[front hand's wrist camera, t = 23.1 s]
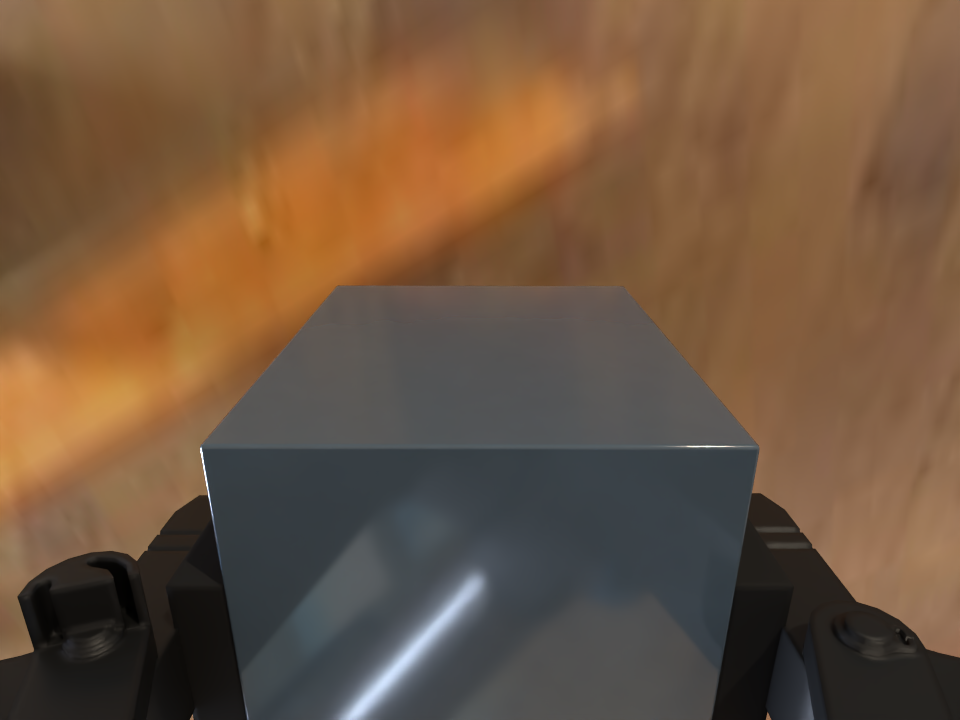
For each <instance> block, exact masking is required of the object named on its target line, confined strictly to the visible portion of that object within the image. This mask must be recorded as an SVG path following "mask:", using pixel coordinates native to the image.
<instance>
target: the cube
mask: <svg viewBox="0 0 960 720" xmlns="http://www.w3.org/2000/svg"><path fill="white" fill-rule="evenodd" d="M200 450H201V456H202V462H203V468H204V473H205V479H206V485H207V491H208V497H209V502H210V508H211V514H212V520H213V526H214V531H215V537H216V543H217V549H218V554H219V560H220V566H221V572H222V578H223V583H224V589H225V595H226V601H227V607H228V612H229V618H230V624H231V630H232V636H233V641H234V647H235V653H236V659H237V665H238V670H239V676H240V682H241V688H242V693H243V699H244V705H245V711H246V717H247V720H712V717H713V711H714V705H715V700H716V694H717V688H718V682H719V677H720V671H721V665H722V660H723V654H724V648H725V643H726V637H727V631H728V625H729V620H730V614H731V608H732V603H733V597H734V591H735V586H736V580H737V574H738V569H739V563H740V557H741V551H742V546H743V540H744V534H745V529H746V523H747V517H748V512H749V506H750V500H751V494H752V489H753V483H754V477H755V472H756V466H757V460H758V455H759V445H758V444H757V443H756V442H755V441H754V439H753V438H752V437H751V436H750V435H749V434H748V432H747V431H746V430H745V429H744V428H743V427H742V425H741V424H740V423H739V422H738V421H737V419H736V418H735V417H734V416H733V415H732V414H731V412H730V411H729V410H728V409H727V408H726V407H725V405H724V404H723V403H722V402H721V401H720V399H719V398H718V397H717V396H716V395H715V394H714V392H713V391H712V390H711V389H710V388H709V387H708V385H707V384H706V383H705V382H704V381H703V379H702V378H701V377H700V376H699V375H698V374H697V372H696V371H695V370H694V369H693V368H692V366H691V365H690V364H689V363H688V362H687V361H686V359H685V358H684V357H683V356H682V355H681V354H680V352H679V351H678V350H677V349H676V348H675V346H674V345H673V344H672V343H671V342H670V341H669V339H668V338H667V337H666V336H665V335H664V334H663V332H662V331H661V330H660V329H659V328H658V326H657V325H656V324H655V323H654V322H653V321H652V319H651V318H650V317H649V316H648V315H647V314H646V312H645V311H644V310H643V309H642V308H641V306H640V305H639V304H638V303H637V302H636V301H635V299H634V298H633V297H632V296H631V295H630V293H629V292H628V291H627V290H626V289H625V288H624V287H623V286H336V288H335V289H334V290H333V291H332V292H331V293H330V295H329V296H328V297H327V298H326V299H325V300H324V302H323V303H322V304H321V305H320V306H319V307H318V309H317V310H316V311H315V312H314V313H313V314H312V316H311V317H310V318H309V319H308V320H307V321H306V323H305V324H304V325H303V326H302V327H301V328H300V330H299V331H298V332H297V333H296V334H295V335H294V337H293V338H292V339H291V340H290V341H289V342H288V344H287V345H286V346H285V347H284V348H283V349H282V351H281V352H280V353H279V354H278V355H277V356H276V358H275V359H274V360H273V361H272V362H271V363H270V365H269V366H268V367H267V368H266V369H265V370H264V372H263V373H262V374H261V375H260V376H259V377H258V379H257V380H256V381H255V382H254V383H253V384H252V386H251V387H250V388H249V389H248V390H247V392H246V393H245V394H244V395H243V396H242V397H241V399H240V400H239V401H238V402H237V403H236V404H235V406H234V407H233V408H232V409H231V410H230V411H229V413H228V414H227V415H226V416H225V417H224V418H223V420H222V421H221V422H220V423H219V424H218V425H217V427H216V428H215V429H214V430H213V431H212V432H211V434H210V435H209V436H208V437H207V438H206V439H205V441H204V442H203V443H202V444H201V447H200Z"/></svg>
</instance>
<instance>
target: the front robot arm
mask: <svg viewBox="0 0 960 720" xmlns="http://www.w3.org/2000/svg"><path fill="white" fill-rule="evenodd" d="M18 600H19V603H20V606H21V609H22V613H23V616H24V619H25V622H26V625H27V628H28V631H29V635H30V638H31V641H32V644H33V647H34V652H32V653H28V654H25V655H22V656H17V657H13V658H9V659H4V660H0V720H190V718H191V716H192V714H193V718H194V720H247V717H246V711H245V705H244V699H243V693H242V688H241V682H240V676H239V670H238V665H237V659H236V653H235V647H234V641H233V636H232V630H231V624H230V618H229V612H228V607H227V601H226V595H225V589H224V583H223V578H222V572H221V566H220V560H219V554H218V549H217V543H216V537H215V531H214V526H213V520H212V514H211V508H210V502H209V497H208V495H199V496H198V497H196V498H195V499H193V500H192V501H190V502H189V503H187V504H186V505H185V506H183V507H182V508H180V509H179V510H177V511H176V512H175V513H174V514H173V515H172V517H171V518H170V519H169V521H168V522H167V523H166V524H165V526H164V527H163V528H162V530H161V531H160V535H157V536H156V537H155V539H154V540H153V541H152V542H151V544H150V545H149V546H148V551H145V552H144V553H143V554H142V555H141V557H140V558H139V559H138V561H136V560H134V559H133V558H132V557H131V556H129V555H128V554H124V553H119V552H114V551H105V552H93V553H88V554H84V555H81V556H77V557H73V558H70V559H67V560H65V561H63V562H61V563H59V564H57V565H54V566H52V567H50V568H48V569H46V570H45V571H43V572H42V573H41V574H39V575H38V576H37V577H35V578H34V579H33V580H31V581H30V582H29V583H28V584H27V585H26V586H25V588H24V589H23V590H22V592H21V593H20V594H19V595H18ZM767 711H768V713H769V715H770V718H771V720H960V658H959V657H954V656H950V655H946V654H941V653H937V652H934V651H931V650H927V649H926V648H925V647H924V645H923V644H922V642H921V641H920V640H919V638H918V637H917V635H916V634H915V633H914V632H913V631H912V630H911V629H909V628H908V627H907V626H906V625H905V624H903V623H902V622H901V621H900V620H899V619H897V618H895V617H893V616H891V615H889V614H887V613H885V612H883V611H882V610H880V609H878V608H875V607H871V606H868V605H865V604H862V603H858V602H856V601H855V599H854V598H853V597H852V595H851V594H850V593H849V592H848V590H847V589H846V588H845V586H844V585H843V584H842V583H841V581H840V580H839V579H838V577H837V576H836V575H835V574H834V572H833V571H832V570H831V568H830V567H829V566H828V565H827V563H826V562H825V561H824V559H823V558H822V557H821V556H820V554H819V553H818V552H817V550H816V549H812V544H811V543H810V541H809V540H808V539H807V538H806V536H805V535H804V534H803V533H800V529H799V527H798V526H797V525H796V523H795V522H794V521H793V520H792V518H791V517H790V516H789V514H788V513H787V512H786V511H785V510H784V509H783V508H781V507H780V506H779V505H777V504H776V503H774V502H773V501H771V500H770V499H768V498H767V497H765V496H764V495H762V494H761V493H752V494H751V500H750V506H749V512H748V517H747V523H746V529H745V534H744V540H743V546H742V551H741V557H740V563H739V569H738V574H737V580H736V586H735V591H734V597H733V603H732V608H731V614H730V620H729V625H728V631H727V637H726V643H725V648H724V654H723V660H722V665H721V671H720V677H719V682H718V688H717V694H716V700H715V705H714V711H713V717H712V720H766V716H767Z"/></svg>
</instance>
